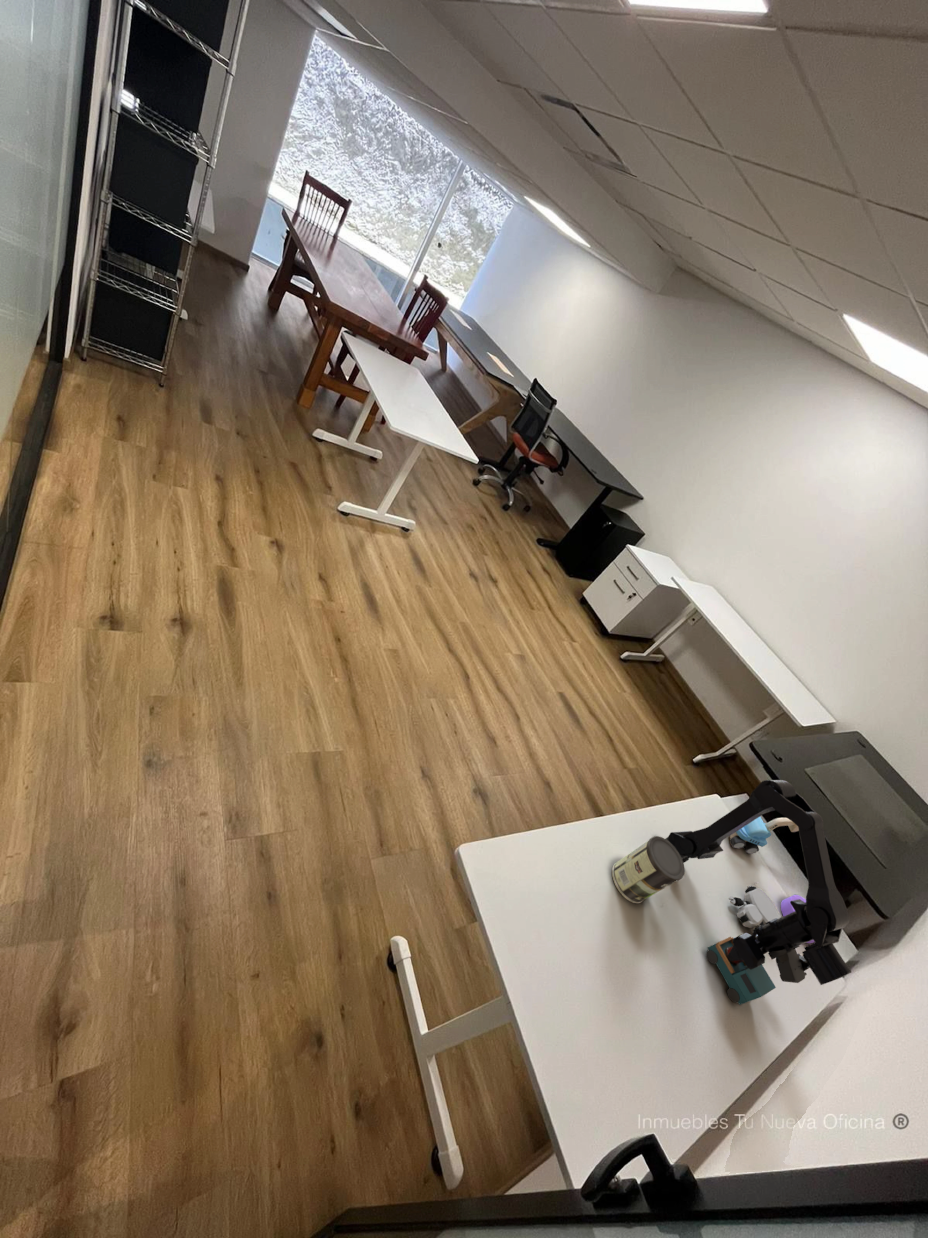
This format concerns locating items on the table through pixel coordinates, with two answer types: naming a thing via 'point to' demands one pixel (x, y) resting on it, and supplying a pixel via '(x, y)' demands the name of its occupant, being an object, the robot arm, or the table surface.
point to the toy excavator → (758, 833)
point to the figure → (734, 961)
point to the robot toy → (755, 908)
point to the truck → (740, 975)
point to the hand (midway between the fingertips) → (736, 954)
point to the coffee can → (648, 870)
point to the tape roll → (791, 907)
